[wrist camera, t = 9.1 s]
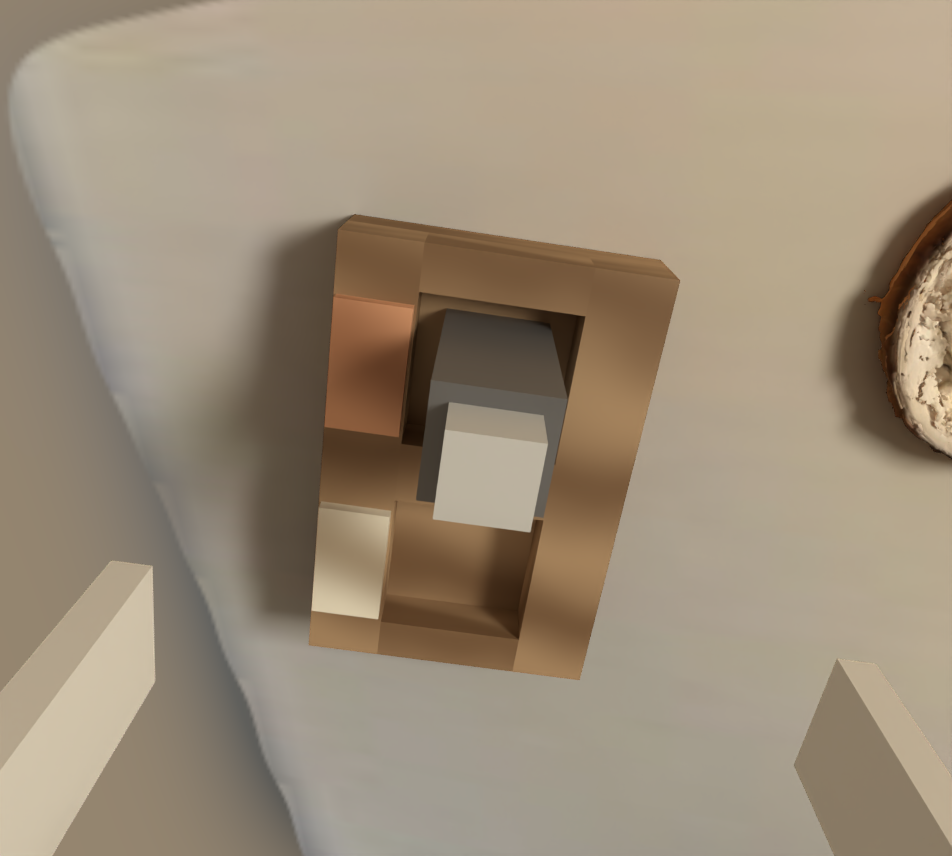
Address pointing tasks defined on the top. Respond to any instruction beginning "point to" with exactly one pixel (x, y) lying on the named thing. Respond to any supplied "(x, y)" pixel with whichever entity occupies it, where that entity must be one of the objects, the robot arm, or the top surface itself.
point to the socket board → (402, 433)
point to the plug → (492, 421)
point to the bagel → (921, 336)
